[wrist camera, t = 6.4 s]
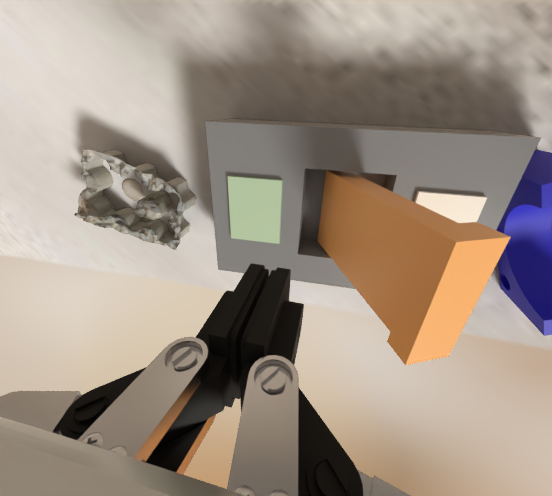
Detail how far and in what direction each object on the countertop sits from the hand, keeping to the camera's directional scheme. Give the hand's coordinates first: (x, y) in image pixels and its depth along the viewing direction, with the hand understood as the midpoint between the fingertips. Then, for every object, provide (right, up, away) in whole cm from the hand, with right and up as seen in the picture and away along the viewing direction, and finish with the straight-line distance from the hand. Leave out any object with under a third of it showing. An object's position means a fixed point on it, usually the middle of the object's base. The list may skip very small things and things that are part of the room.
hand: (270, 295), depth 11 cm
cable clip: (+21, +4, +11) cm, 24 cm away
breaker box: (+6, +6, +12) cm, 15 cm away
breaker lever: (+5, +5, +10) cm, 12 cm away
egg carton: (-13, +8, +16) cm, 22 cm away
